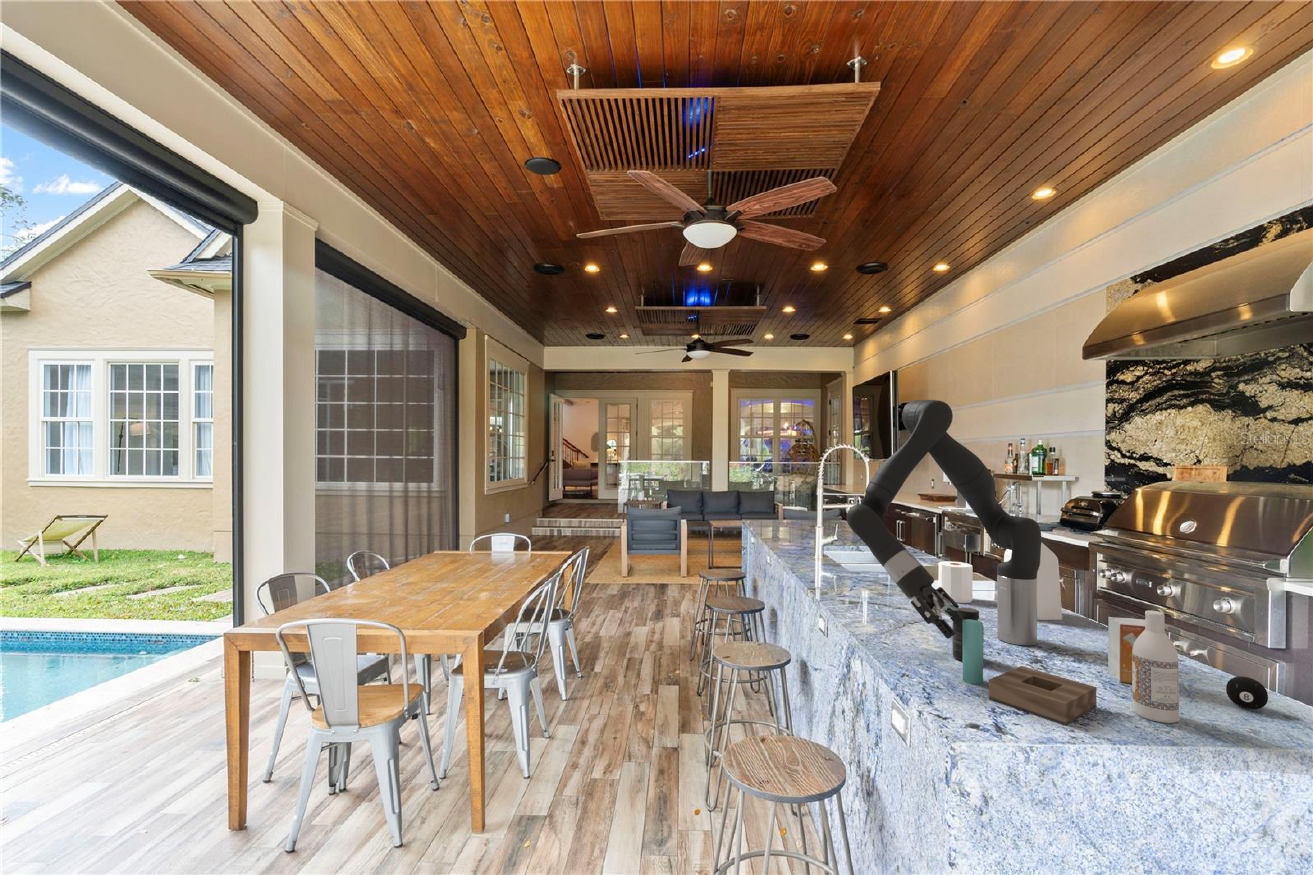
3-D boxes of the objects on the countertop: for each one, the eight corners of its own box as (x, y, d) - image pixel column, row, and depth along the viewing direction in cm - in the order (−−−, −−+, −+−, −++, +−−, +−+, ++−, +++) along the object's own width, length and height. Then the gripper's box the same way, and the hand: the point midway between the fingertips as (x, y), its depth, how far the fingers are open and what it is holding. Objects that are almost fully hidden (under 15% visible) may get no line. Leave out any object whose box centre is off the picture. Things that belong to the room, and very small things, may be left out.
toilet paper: (966, 596, 209) (966, 561, 209) (976, 604, 199) (976, 567, 199) (935, 594, 211) (935, 560, 211) (943, 602, 201) (943, 566, 201)
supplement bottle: (987, 664, 143) (987, 614, 143) (956, 662, 144) (956, 612, 145) (978, 655, 150) (978, 606, 150) (949, 653, 151) (948, 605, 151)
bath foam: (1133, 705, 121) (1132, 605, 121) (1178, 715, 116) (1177, 611, 117) (1131, 716, 116) (1131, 612, 116) (1179, 727, 111) (1178, 619, 111)
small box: (1119, 682, 132) (1119, 623, 133) (1107, 672, 138) (1107, 615, 139) (1164, 687, 130) (1163, 627, 130) (1149, 676, 136) (1149, 619, 136)
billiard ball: (1225, 707, 120) (1225, 677, 120) (1226, 699, 124) (1226, 669, 124) (1268, 717, 116) (1268, 686, 116) (1268, 708, 120) (1268, 677, 120)
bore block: (1021, 684, 131) (1021, 665, 131) (1096, 707, 120) (1096, 687, 120) (989, 699, 123) (988, 679, 123) (1065, 725, 112) (1065, 703, 112)
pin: (968, 676, 136) (968, 618, 136) (986, 681, 133) (986, 622, 133) (959, 679, 134) (958, 621, 134) (977, 685, 130) (977, 625, 131)
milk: (1062, 619, 181) (1061, 533, 181) (1023, 619, 181) (1023, 533, 182) (1037, 609, 193) (1037, 528, 193) (1001, 608, 193) (1001, 527, 194)
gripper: (906, 568, 137) (960, 629, 128) (931, 560, 147) (982, 617, 138) (884, 587, 141) (934, 648, 132) (909, 578, 150) (958, 634, 142)
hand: (959, 632), depth 135 cm, fingers open, 8 cm apart
